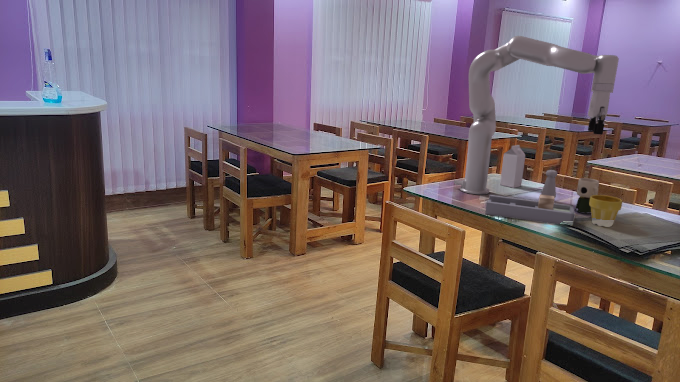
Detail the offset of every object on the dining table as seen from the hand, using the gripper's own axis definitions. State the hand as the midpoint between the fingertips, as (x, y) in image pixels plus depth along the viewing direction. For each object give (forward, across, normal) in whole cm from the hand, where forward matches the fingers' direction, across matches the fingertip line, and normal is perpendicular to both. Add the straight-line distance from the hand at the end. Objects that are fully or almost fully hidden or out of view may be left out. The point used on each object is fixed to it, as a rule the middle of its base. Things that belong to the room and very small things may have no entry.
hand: (594, 132), depth 198 cm
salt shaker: (+30, -4, -13) cm, 33 cm away
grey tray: (+30, +23, -23) cm, 45 cm away
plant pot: (+30, +24, +2) cm, 39 cm away
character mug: (+30, +10, -1) cm, 32 cm away
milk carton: (+30, -26, -26) cm, 48 cm away
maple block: (+27, +24, -18) cm, 40 cm away
